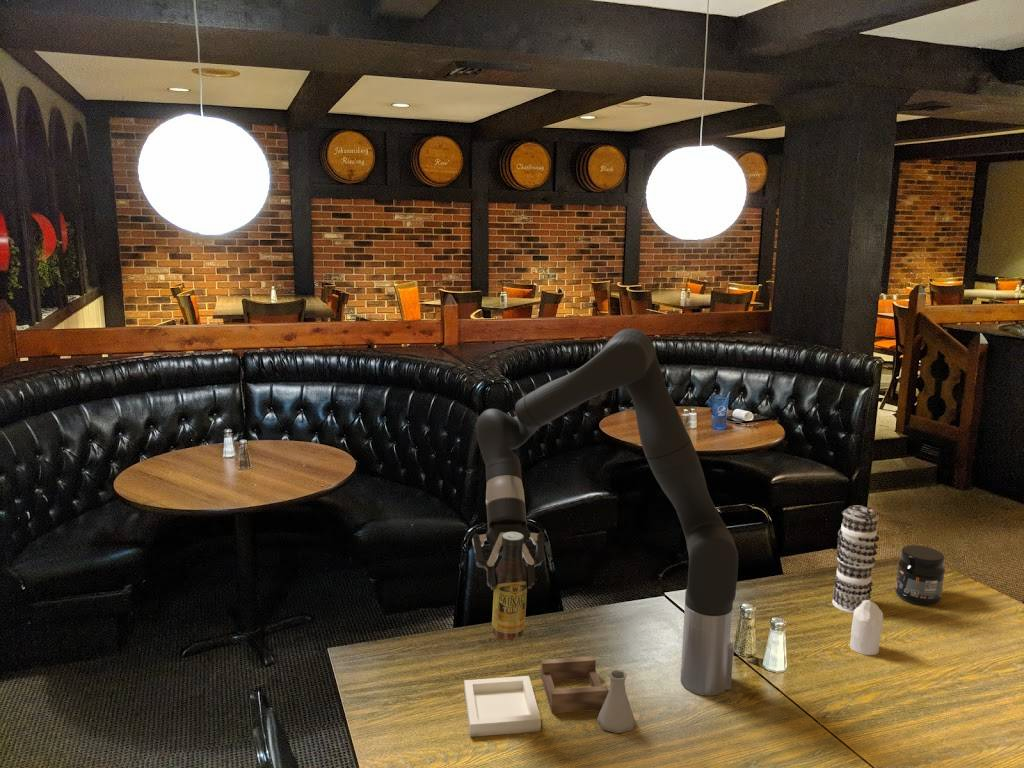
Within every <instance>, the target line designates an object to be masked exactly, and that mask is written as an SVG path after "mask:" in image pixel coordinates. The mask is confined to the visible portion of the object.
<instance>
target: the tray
mask: <svg viewBox="0 0 1024 768" xmlns="http://www.w3.org/2000/svg"><path fill="white" fill-rule="evenodd" d="M463 681H464V682H463V685H464V686H463V691H464V692H463V693H464V699H465V706H466V716H467V723H468V731H469V737H470V738H473V737H486V736H497V735H511V734H520V733H522V734H523V733H535V732H541V729H542V728H541V727H542V717H541V714H540V711H539V708H538V704H537V700H536V697H535V693H534V689H533V685H532V682H531V681H532V680H531V678H530V675H523V676H522V675H521V676H520V675H519V676H507V677H505V676H504V677H496V678H495V677H493V678H492V677H491V678H480V679H465V680H463Z"/></svg>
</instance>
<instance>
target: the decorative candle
mask: <svg viewBox="0 0 1024 768" xmlns="http://www.w3.org/2000/svg"><path fill="white" fill-rule="evenodd" d="M841 514H842V515H843V516H842V523H841V527H840V529H839V530H838V532H837V536H838V537H837V538H836V541H837V547H836V548H837V551H836V552H835V553H836V560H837V561H838V563H837V567H836V575H835V574H834V581H833V583H834V584H833V586H834V587H833V589H832V590H833V591H832V605H833V606H834V608H836V609H838V610H840V611H842V612H845V613H848V614H852V615H853V614H854V610H855V609H856V608H857V607H859V606H860V605H861V603H862V601H864V600H870V601H871V598H872V593H871V592H872V591H873V589H872V586H873V583H874V582H873V579H872V578H873V574H872V569H873V567H874V566H875V562H876V558H875V557H874V556H876V555H877V554H878V551H877V549H878V547H879V545H878V544H877V543H876V542H878V541H880V537H879V536H878V535H879V531H878V529H877V526H878V520H879V519H880V517H879V515H877V513H876V512H875V510H873V509H872V508H871V507H868V506H865V505H858V504H857V505H849V506H848V507H847V508H846V509H844V510H842V512H841Z"/></svg>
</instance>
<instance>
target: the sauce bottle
mask: <svg viewBox="0 0 1024 768" xmlns="http://www.w3.org/2000/svg"><path fill="white" fill-rule="evenodd" d="M502 544H503V551H502V555H501V559H500V560H499V561H498V563H497V566H496V567H495V581H496V588H495V590H493V600H492V617H491V626H492V634H493V635H494V637H495V638H497V639H500V640H503V641H514V640H518V639H519V638H522V636H523V635H524V631H525V627H526V613H527V611H526V609H527V595H528V594H527V593H528V589H527V566H526V564H525V562H524V561H523V559H522V557H523V555H522V546H523V544H524V536H523V535H522V534H521V533H518V532H506V533H504V534H503V535H502Z"/></svg>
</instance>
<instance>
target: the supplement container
mask: <svg viewBox="0 0 1024 768" xmlns="http://www.w3.org/2000/svg"><path fill="white" fill-rule="evenodd" d="M900 552H901V553H900V557H899V559H898V561H897V570H896V578H895V579H896V580H895V586H894V591H895V593H896V595H897V596H898V597H899V598H900V599H902V600H904V601H905V602H908V603H910V604H915V605H918V606H927V607H928V606H935V605H936V604H939V603H940V601H941V600H942V595H943V585H944V580H945V574H946V568H945V566H944V565H945V554H943V552H941V551H939V550H938V549H935V548H933V547H929V546H924V545H917V544H909V545H905V546H903V547H902V548H901V551H900Z"/></svg>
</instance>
